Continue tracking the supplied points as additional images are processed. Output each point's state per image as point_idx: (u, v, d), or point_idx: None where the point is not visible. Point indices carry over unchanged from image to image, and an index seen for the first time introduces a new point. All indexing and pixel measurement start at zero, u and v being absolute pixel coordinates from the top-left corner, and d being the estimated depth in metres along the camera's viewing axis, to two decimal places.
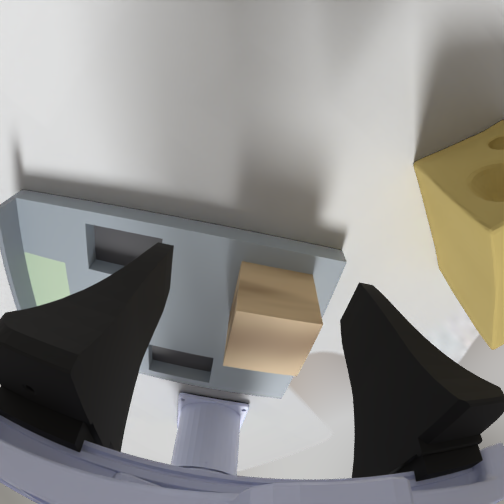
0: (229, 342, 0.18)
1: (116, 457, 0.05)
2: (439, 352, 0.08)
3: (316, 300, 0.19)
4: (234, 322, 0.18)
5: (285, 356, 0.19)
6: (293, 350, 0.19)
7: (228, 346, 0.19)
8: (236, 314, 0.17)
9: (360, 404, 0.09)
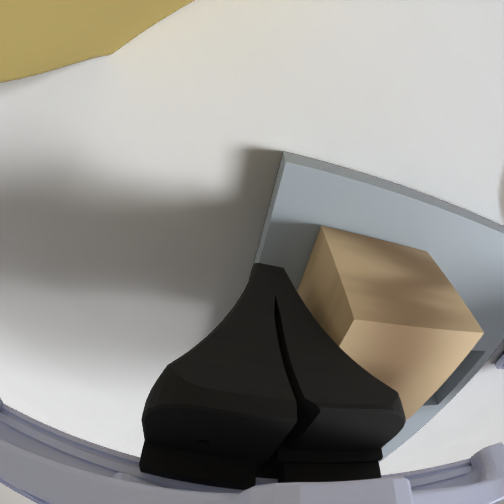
0: None
1: (116, 457, 0.05)
2: (330, 342, 0.07)
3: (335, 272, 0.09)
4: None
5: (422, 361, 0.08)
6: (412, 353, 0.08)
7: None
8: None
9: None
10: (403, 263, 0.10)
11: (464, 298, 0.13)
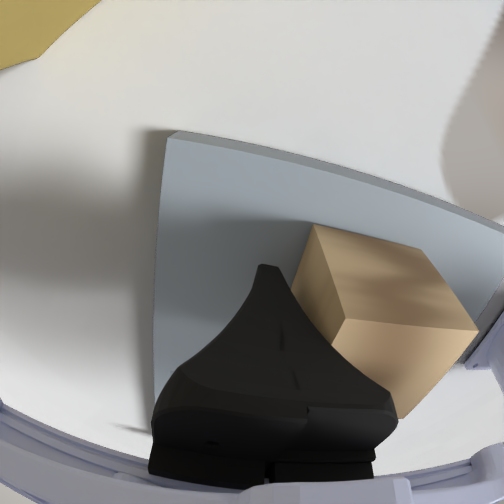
0: None
1: (116, 457, 0.05)
2: (323, 341, 0.07)
3: (327, 270, 0.09)
4: None
5: (416, 359, 0.08)
6: (406, 352, 0.08)
7: None
8: None
9: None
10: (396, 261, 0.10)
11: None
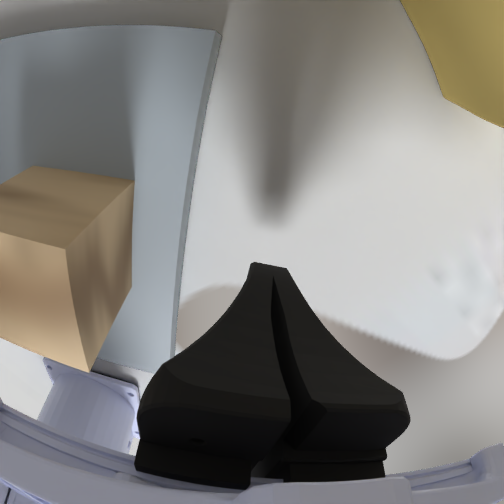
0: None
1: (116, 457, 0.05)
2: (334, 342, 0.07)
3: (97, 211, 0.08)
4: None
5: (44, 324, 0.08)
6: (48, 313, 0.08)
7: None
8: None
9: None
10: (117, 270, 0.11)
11: None
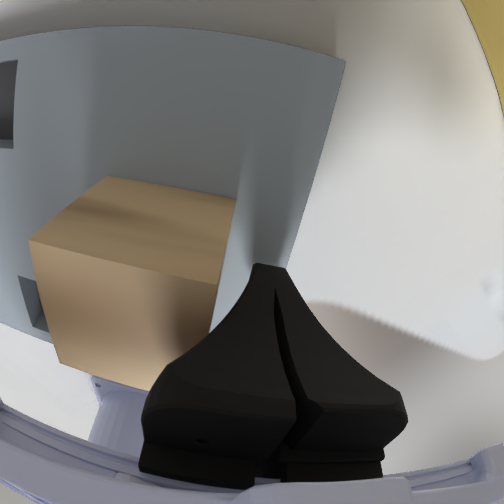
0: (46, 316, 0.08)
1: (116, 457, 0.05)
2: (332, 342, 0.07)
3: (223, 236, 0.09)
4: (35, 269, 0.07)
5: (155, 358, 0.08)
6: (165, 348, 0.08)
7: (49, 324, 0.08)
8: (31, 250, 0.07)
9: None
10: (217, 292, 0.11)
11: None
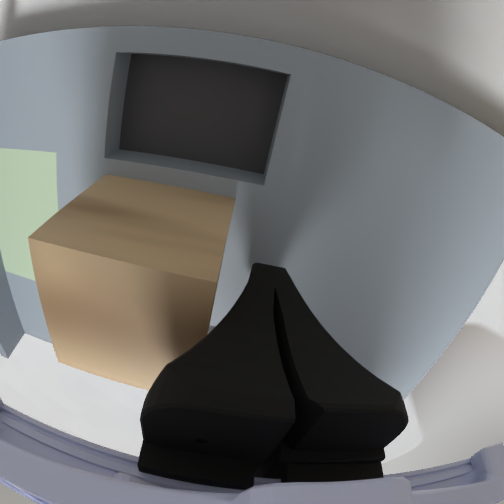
0: (45, 314, 0.08)
1: (116, 457, 0.05)
2: (332, 342, 0.07)
3: (222, 234, 0.09)
4: (34, 267, 0.07)
5: (154, 357, 0.08)
6: (165, 346, 0.08)
7: (48, 323, 0.08)
8: (31, 247, 0.07)
9: None
10: None
11: (402, 333, 0.14)
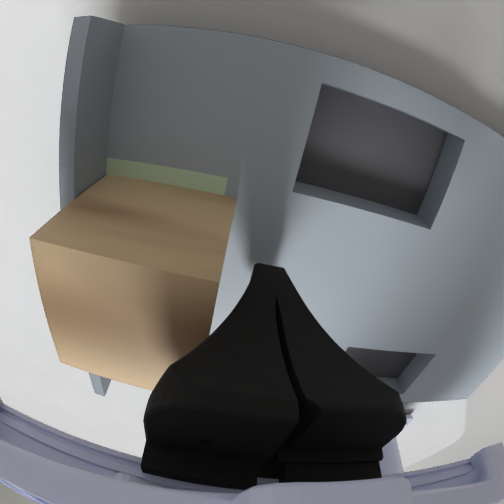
0: (47, 314, 0.08)
1: (116, 457, 0.05)
2: (331, 342, 0.07)
3: (224, 234, 0.09)
4: (36, 267, 0.07)
5: (157, 357, 0.08)
6: (167, 346, 0.08)
7: (49, 323, 0.08)
8: (33, 248, 0.07)
9: None
10: None
11: (484, 341, 0.15)
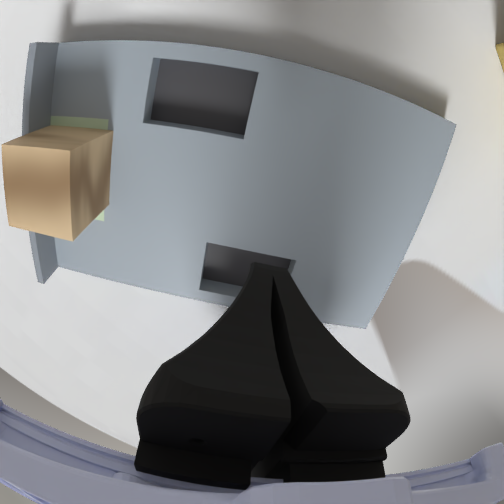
0: (5, 189, 0.13)
1: (116, 457, 0.05)
2: (334, 342, 0.07)
3: (89, 140, 0.14)
4: (2, 160, 0.13)
5: (50, 205, 0.14)
6: (54, 195, 0.14)
7: (5, 195, 0.14)
8: (2, 149, 0.12)
9: None
10: (99, 184, 0.17)
11: (352, 254, 0.21)
